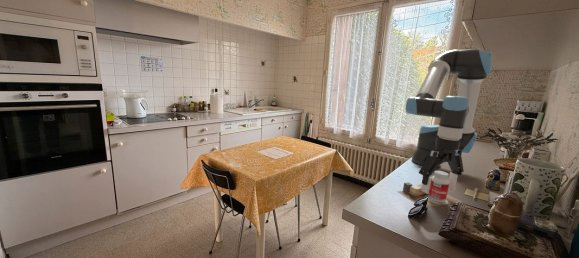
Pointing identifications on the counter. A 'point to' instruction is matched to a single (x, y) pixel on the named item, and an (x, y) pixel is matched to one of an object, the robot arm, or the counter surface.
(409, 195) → the board
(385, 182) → the counter surface
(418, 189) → the leg bar
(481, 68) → the robot arm
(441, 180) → the pill bottle
